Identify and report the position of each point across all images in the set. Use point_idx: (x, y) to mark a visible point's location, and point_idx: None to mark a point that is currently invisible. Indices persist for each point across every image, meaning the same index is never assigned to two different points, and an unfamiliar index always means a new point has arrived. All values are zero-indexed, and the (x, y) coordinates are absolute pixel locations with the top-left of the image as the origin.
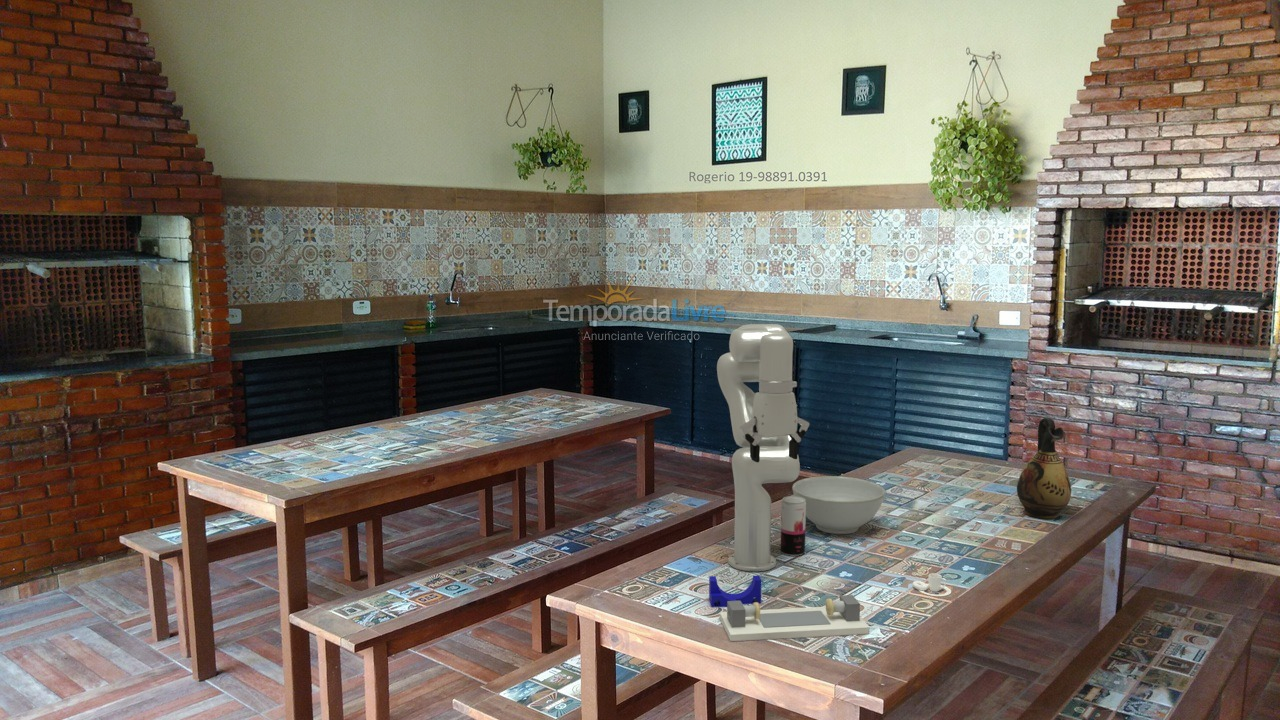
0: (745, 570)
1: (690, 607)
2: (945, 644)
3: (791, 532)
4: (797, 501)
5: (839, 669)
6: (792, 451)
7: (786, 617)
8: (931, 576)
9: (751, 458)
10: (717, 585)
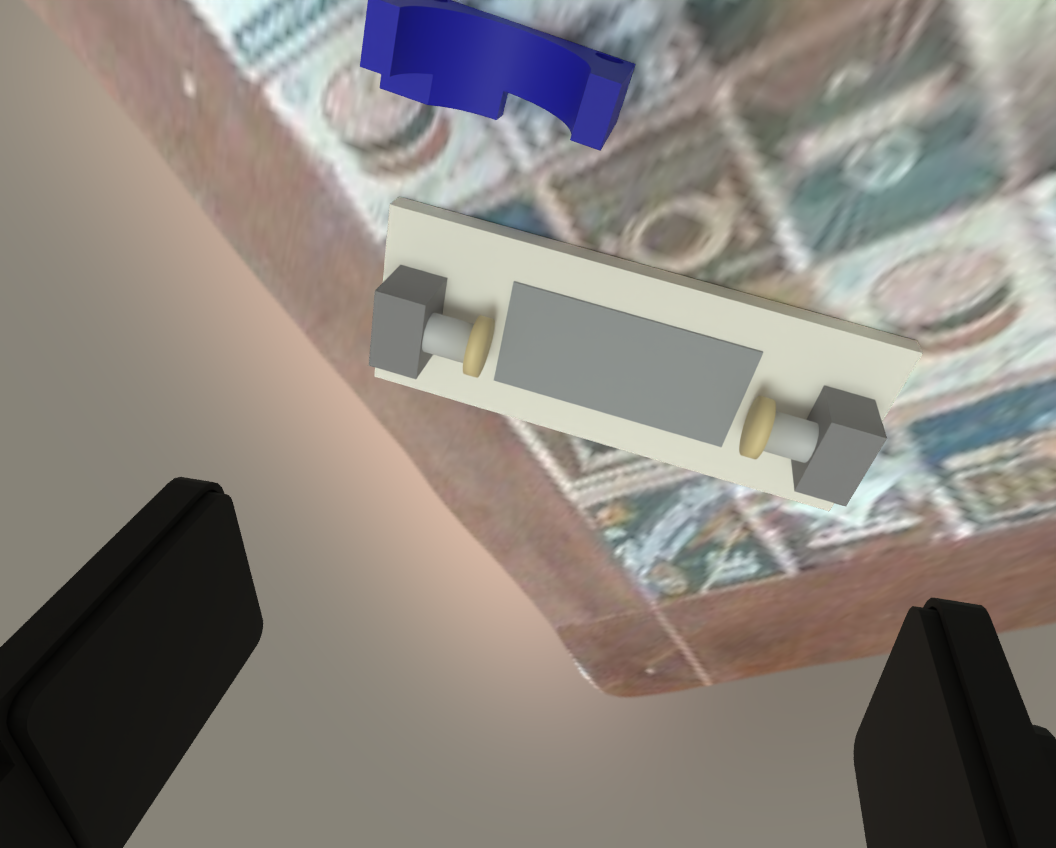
0: None
1: (315, 47)
2: None
3: None
4: None
5: (596, 594)
6: (894, 812)
7: (603, 351)
8: None
9: (175, 481)
10: (400, 72)
